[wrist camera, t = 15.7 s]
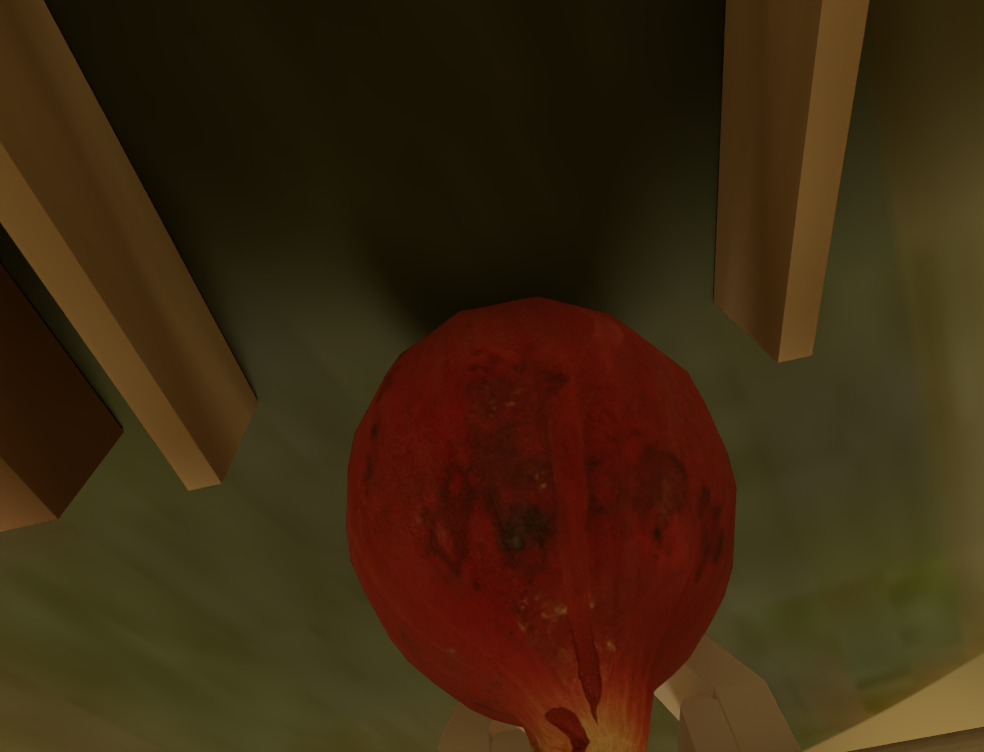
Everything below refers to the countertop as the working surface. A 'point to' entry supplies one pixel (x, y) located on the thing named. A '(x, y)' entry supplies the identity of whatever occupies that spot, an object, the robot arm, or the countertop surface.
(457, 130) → the countertop surface
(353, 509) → the onion
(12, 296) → the wooden tray
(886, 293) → the countertop surface
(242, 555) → the countertop surface
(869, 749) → the robot arm
